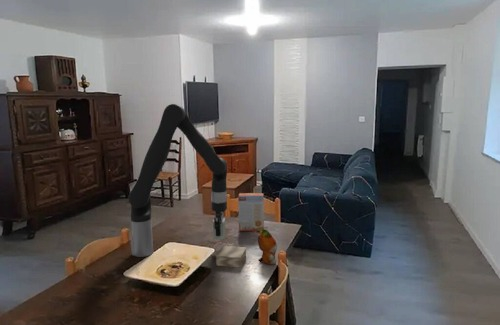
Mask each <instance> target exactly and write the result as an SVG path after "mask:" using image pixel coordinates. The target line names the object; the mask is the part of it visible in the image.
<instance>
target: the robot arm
mask: <svg viewBox="0 0 500 325" xmlns="http://www.w3.org/2000/svg"><path fill="white" fill-rule="evenodd" d="M161 115H162V116H161V120H160V123H159V125H158V128H157V131H156V133H155V135H154V137H153V139H152V140H151V143H150V144H149V146H148V150H147V152H146V154H145V156H144V160H143V163H142V166H141V168H140V172H139V175H138V178H137V180H136V182H135V184H134V186H133V187H132V188H131V190H130V192H129V194H128V202H129V204H130V210H131V211H130V220H131V222H130V223H131V224H130V225H131V235H130V248H131V249H130V250H131V255H132V256H133V257H136V258H143V257H149V256H151V255H152V254H154V243H153V242H154V240H153V226H152V199H151V193H152V189H153V187H154V183H155V182H156V180H157V178H158V177H159V175H160V173H161V171H162V169H163V168H164V165H165V163H166V161H167V158H168V156H169V154H170V150H171V145H172V141H173V137H174V134H175V132H176V130H177V129H179V130H180V132H182V134H183V135H184V136H185V137H186V139H187V140H188V142H189V143H190V145H191V147H192V148H193V149H194V151H196V153H197V154H198V155H199V156H200V158H202V159H203V161H204V163H205V164H206V165H207V168H208V169H209V170H210V171H211V173H212V180H211V193H210V195H211V196H210V198H211V199H210V205H211V206H210V207H211V211H212V212H213V211H214V212H215V213H214V215H213V216H214V218H213V220H214V228H215V229H216V236H220V235H221V224H222V219H223V218H225V217H224V216H225V214H224V213H225V211H227V209H228V193H227V192H228V191H227V174H228V163H227V161H226V160H225V159H224V158H223V157H219V156H218V154H217V153H216V151H215V148H214V147H213V146H212V145H211V144H210V142H209V141H208V139H206V138H205V137H204V136H203V134H202V133H201V132H200V130H198V129H197V128H196V126H195V125H194V124H193V122H192V121H191V119H190V117H189V116H188V113H187V112H186V111H185V109H184V108H183V106H181V105H179V104H176V103H171V104H168V105H166V107H165V108H164V110H163V112H162V114H161ZM220 221H221V222H220ZM217 225H219V226H217Z"/></svg>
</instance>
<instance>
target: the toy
mask: <svg viewBox="0 0 500 325" xmlns="http://www.w3.org/2000/svg"><path fill="white" fill-rule="evenodd" d="M257 245H258V249H259V250H260V251H262V254H261V257H260V258H259V259H258V262H259V263H263V264H266V265H275V264H277V260H276V252H277V249H278V244H277V241H276V239H275V237H274V236H273V235H272V234H271V233H270V232H269V230H268V229H265V228H264V229H263V230H261V231H259V235H258V237H257Z"/></svg>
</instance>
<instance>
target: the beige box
mask: <svg viewBox="0 0 500 325" xmlns="http://www.w3.org/2000/svg"><path fill="white" fill-rule="evenodd" d="M246 258H247V247H244V246H234V245H233V246H232V245H222V246H221V247H220V249H219V251H218V252H217V253H216V254H215V259H216V260H215V262H216V266H220V267H231V268H241V267H242V265H243V264H244V261H245V260H246Z"/></svg>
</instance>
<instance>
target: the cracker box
mask: <svg viewBox="0 0 500 325" xmlns="http://www.w3.org/2000/svg"><path fill="white" fill-rule="evenodd" d="M264 196H265V194H264V193H262V192H261V193H259V192H256V193H255V192H248V193H247V192H245V193H244V192H239V194H238V197H237V198H238V199H237V200H238V231H239V232H260V231H261V230H263V229H264V230H265V206H264V205H265V199H264V198H265V197H264Z"/></svg>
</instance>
